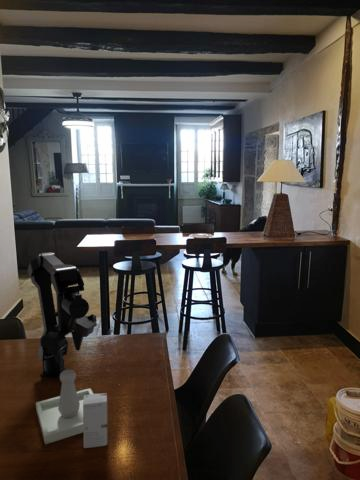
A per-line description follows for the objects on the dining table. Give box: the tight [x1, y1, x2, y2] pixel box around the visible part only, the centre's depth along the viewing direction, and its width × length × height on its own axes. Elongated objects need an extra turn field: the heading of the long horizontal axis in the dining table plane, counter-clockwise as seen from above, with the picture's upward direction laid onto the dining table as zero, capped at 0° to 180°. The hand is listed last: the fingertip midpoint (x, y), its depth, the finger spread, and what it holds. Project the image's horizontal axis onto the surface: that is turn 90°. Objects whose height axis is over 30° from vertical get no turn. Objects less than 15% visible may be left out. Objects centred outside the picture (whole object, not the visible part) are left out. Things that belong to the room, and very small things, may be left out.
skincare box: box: [83, 392, 108, 449], centre depth 94 cm, size 6×4×12 cm
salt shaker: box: [58, 368, 80, 419], centre depth 103 cm, size 6×6×13 cm
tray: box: [35, 387, 94, 445], centre depth 104 cm, size 16×16×2 cm
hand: (69, 356), depth 112 cm, fingers open, 9 cm apart
